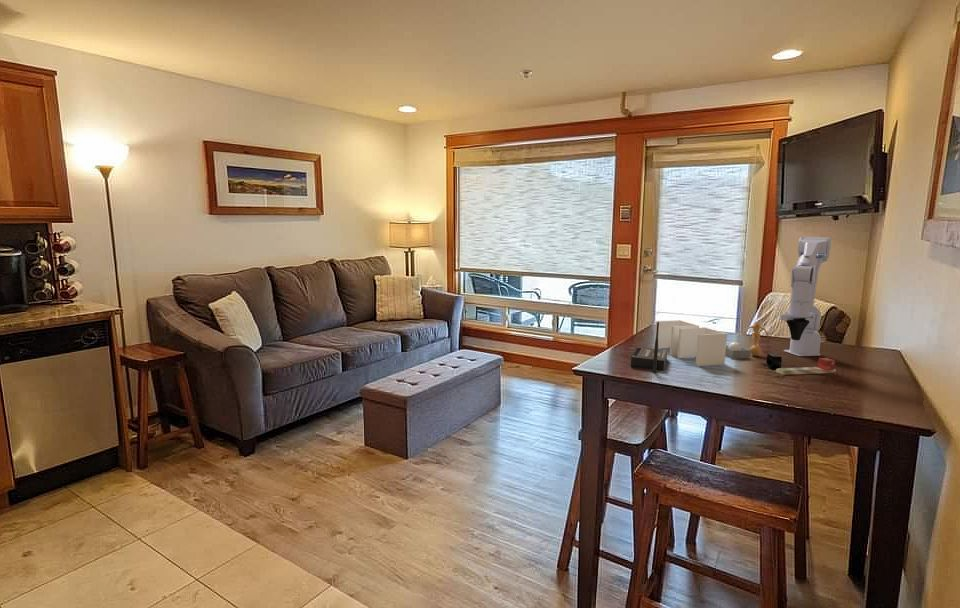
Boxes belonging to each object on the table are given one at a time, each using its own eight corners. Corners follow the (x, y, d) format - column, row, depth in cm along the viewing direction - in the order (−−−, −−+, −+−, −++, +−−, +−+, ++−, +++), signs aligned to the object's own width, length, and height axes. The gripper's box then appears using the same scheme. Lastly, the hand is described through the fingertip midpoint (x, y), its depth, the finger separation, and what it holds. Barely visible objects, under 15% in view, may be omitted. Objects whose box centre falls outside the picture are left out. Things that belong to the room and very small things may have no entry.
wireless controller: (631, 356, 184) (634, 310, 182) (672, 361, 179) (675, 313, 176) (623, 370, 166) (626, 319, 164) (668, 376, 161) (672, 323, 158)
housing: (736, 353, 191) (737, 345, 190) (749, 358, 184) (750, 350, 183) (719, 353, 189) (720, 345, 189) (732, 358, 182) (732, 350, 182)
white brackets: (724, 364, 175) (727, 333, 173) (697, 366, 172) (700, 334, 170) (677, 347, 199) (679, 320, 197) (653, 349, 195) (655, 321, 194)
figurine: (743, 356, 186) (747, 324, 184) (740, 352, 192) (743, 321, 190) (769, 358, 184) (772, 325, 182) (764, 354, 190) (768, 322, 188)
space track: (827, 370, 170) (829, 357, 169) (836, 373, 166) (838, 359, 166) (775, 372, 166) (777, 358, 165) (783, 375, 163) (785, 361, 162)
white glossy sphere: (735, 352, 189) (737, 340, 188) (744, 355, 184) (745, 343, 184) (724, 353, 188) (726, 341, 187) (733, 356, 184) (734, 343, 183)
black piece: (793, 374, 167) (795, 360, 166) (770, 373, 167) (772, 359, 166) (774, 363, 179) (776, 350, 178) (753, 362, 179) (754, 350, 179)
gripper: (803, 298, 179) (799, 335, 181) (774, 300, 174) (769, 338, 176) (823, 301, 172) (818, 340, 175) (793, 303, 167) (788, 343, 169)
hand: (795, 339), depth 175 cm, fingers closed
